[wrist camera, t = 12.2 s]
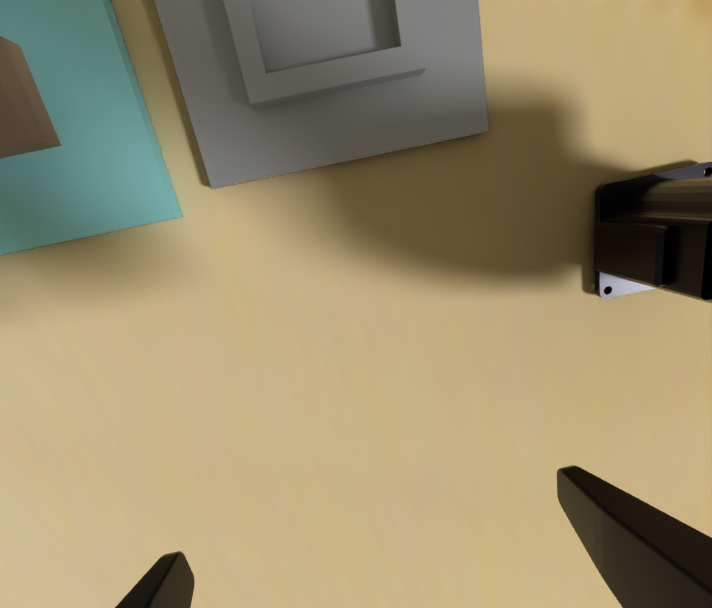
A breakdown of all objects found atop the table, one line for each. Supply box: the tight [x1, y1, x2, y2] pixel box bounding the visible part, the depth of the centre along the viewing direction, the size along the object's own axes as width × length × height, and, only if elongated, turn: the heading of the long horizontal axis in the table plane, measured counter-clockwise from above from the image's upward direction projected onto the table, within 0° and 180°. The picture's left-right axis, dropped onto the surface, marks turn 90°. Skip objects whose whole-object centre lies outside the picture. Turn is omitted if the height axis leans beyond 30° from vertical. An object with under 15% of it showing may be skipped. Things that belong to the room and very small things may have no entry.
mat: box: [0, 0, 183, 255], centre depth 16 cm, size 12×12×1 cm
